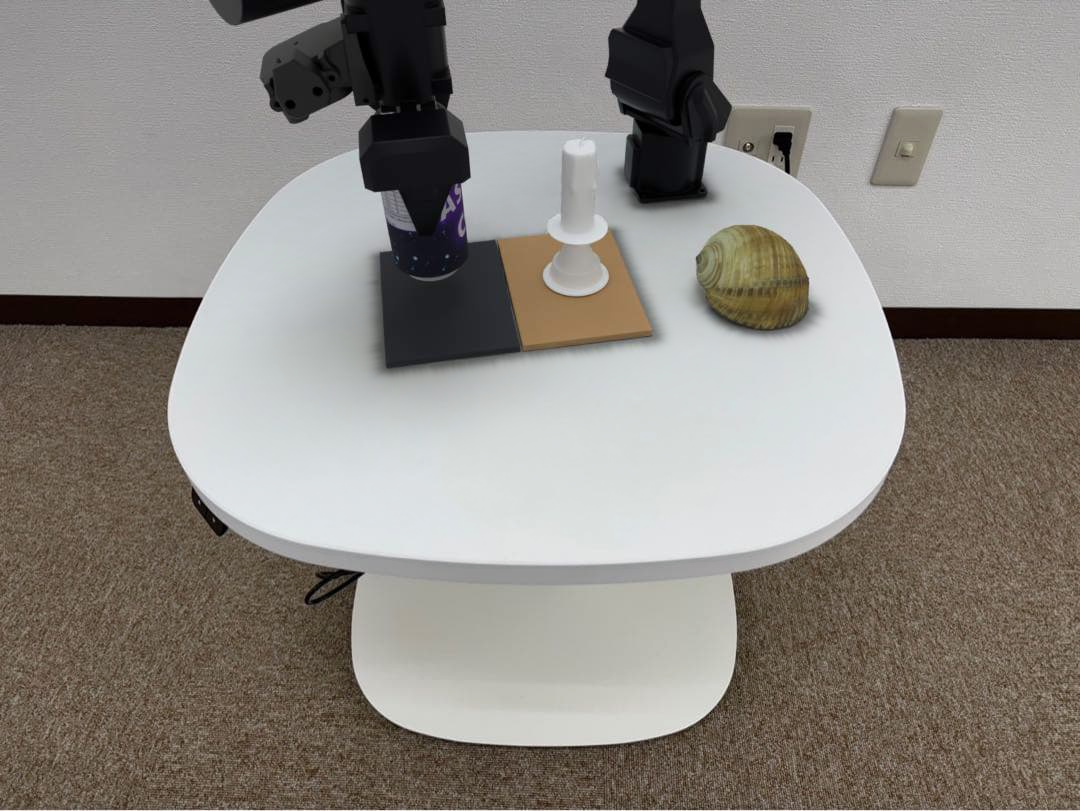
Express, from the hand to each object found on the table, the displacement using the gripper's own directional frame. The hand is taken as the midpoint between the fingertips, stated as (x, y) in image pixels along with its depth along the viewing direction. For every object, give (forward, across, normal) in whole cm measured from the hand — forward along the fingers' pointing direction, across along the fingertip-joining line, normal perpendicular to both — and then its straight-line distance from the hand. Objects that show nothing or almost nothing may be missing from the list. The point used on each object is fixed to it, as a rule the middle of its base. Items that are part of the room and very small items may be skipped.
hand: (422, 211), depth 58 cm
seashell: (+9, +4, +25) cm, 27 cm away
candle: (+8, 0, +12) cm, 14 cm away
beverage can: (+5, 0, 0) cm, 5 cm away
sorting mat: (+8, 0, +6) cm, 10 cm away
